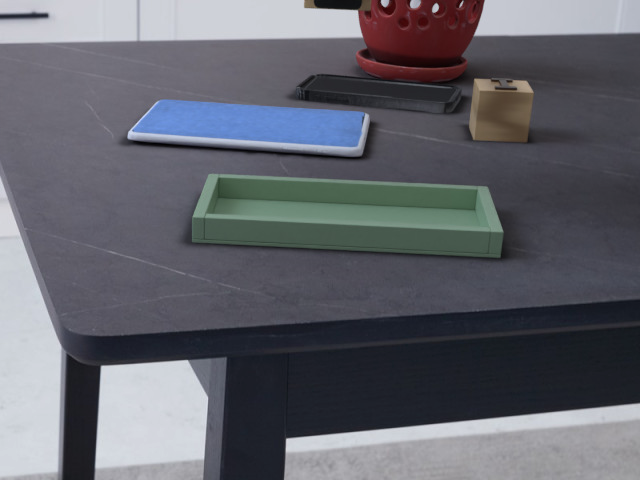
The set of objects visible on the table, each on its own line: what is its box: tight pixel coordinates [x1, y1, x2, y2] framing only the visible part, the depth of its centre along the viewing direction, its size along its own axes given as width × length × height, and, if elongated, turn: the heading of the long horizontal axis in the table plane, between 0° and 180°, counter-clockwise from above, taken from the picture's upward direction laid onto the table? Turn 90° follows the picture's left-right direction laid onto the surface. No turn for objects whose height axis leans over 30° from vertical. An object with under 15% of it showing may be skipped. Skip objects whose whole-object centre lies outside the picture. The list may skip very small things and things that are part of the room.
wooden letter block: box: [468, 77, 535, 143], centre depth 99 cm, size 4×4×5 cm
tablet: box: [127, 98, 371, 158], centre depth 98 cm, size 19×13×1 cm, turn 81°
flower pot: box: [355, 0, 486, 84], centre depth 119 cm, size 13×13×12 cm
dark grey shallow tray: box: [295, 73, 463, 114], centre depth 111 cm, size 8×1×15 cm
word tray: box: [191, 173, 505, 259], centre depth 77 cm, size 20×10×2 cm, turn 85°
